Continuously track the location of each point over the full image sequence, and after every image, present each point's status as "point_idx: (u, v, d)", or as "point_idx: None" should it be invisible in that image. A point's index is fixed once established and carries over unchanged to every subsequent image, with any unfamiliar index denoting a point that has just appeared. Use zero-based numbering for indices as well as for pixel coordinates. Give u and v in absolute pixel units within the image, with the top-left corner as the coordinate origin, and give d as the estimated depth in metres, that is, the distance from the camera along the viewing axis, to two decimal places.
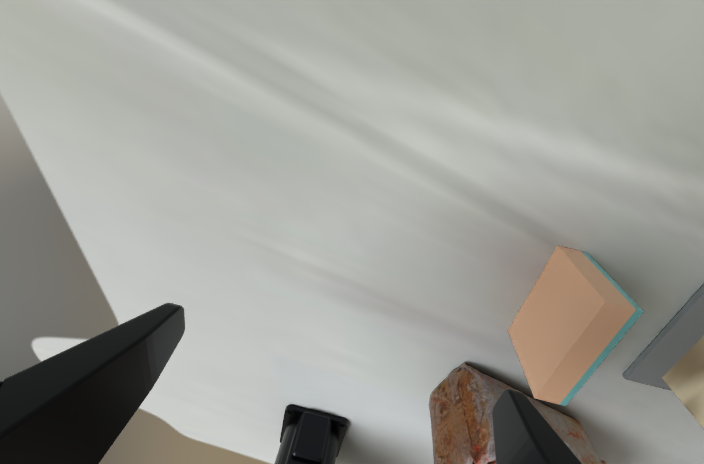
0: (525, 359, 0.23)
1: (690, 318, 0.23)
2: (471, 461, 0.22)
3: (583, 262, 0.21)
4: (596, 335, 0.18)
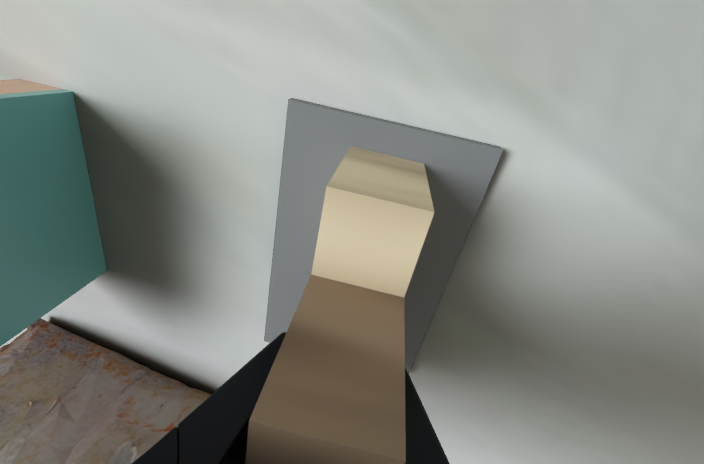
0: None
1: (290, 221, 0.13)
2: None
3: None
4: None
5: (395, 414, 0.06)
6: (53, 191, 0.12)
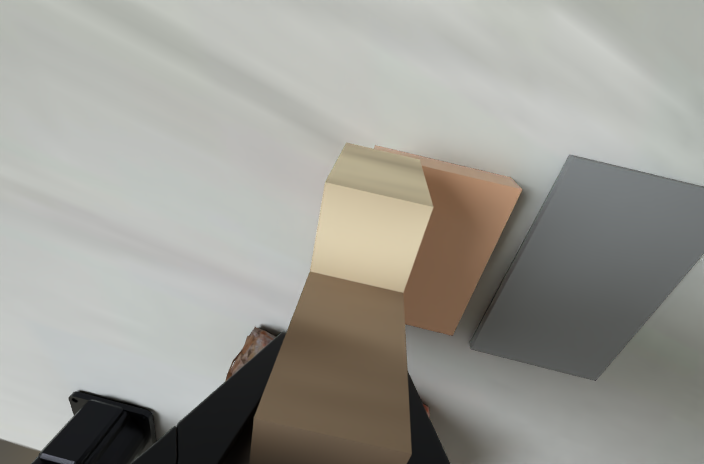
0: (406, 314, 0.16)
1: (537, 251, 0.15)
2: None
3: (415, 158, 0.14)
4: None
5: (399, 408, 0.06)
6: None
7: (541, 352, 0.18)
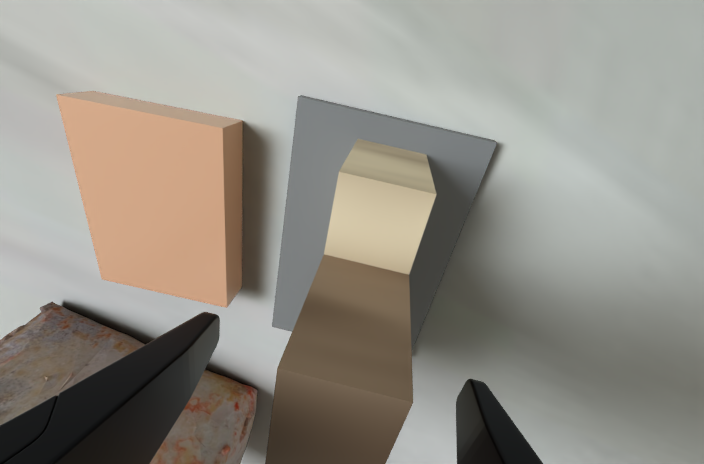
0: (172, 284, 0.15)
1: (298, 211, 0.13)
2: None
3: (124, 101, 0.12)
4: (233, 180, 0.13)
5: (403, 367, 0.07)
6: None
7: None
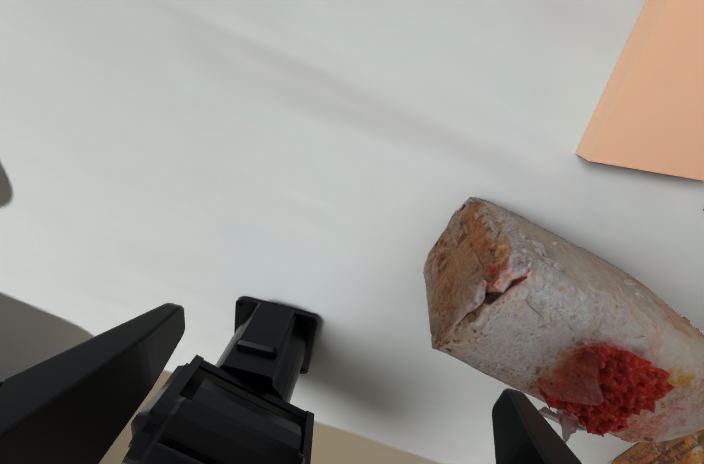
0: (666, 160, 0.16)
1: None
2: (484, 287, 0.14)
3: None
4: None
5: None
6: None
7: None
